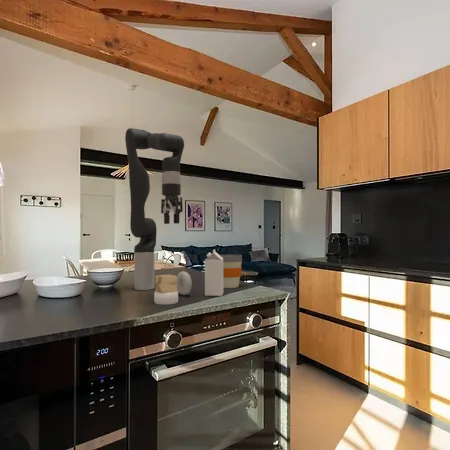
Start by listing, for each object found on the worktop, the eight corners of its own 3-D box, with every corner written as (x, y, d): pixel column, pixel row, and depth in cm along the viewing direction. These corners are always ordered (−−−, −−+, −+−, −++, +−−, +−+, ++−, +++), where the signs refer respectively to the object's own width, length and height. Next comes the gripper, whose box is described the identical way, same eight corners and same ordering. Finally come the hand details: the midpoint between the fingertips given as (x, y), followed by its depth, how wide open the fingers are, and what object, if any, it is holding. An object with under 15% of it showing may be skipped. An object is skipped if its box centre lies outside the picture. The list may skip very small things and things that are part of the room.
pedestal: (150, 301, 131) (150, 291, 131) (171, 298, 136) (171, 288, 136) (160, 305, 124) (160, 294, 124) (182, 302, 129) (182, 291, 129)
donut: (193, 296, 141) (193, 272, 141) (186, 297, 139) (186, 272, 139) (181, 292, 149) (180, 269, 149) (174, 293, 147) (173, 270, 147)
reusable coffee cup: (214, 288, 159) (214, 256, 159) (219, 284, 171) (218, 254, 172) (240, 289, 157) (240, 256, 157) (243, 284, 169) (243, 254, 170)
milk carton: (223, 292, 148) (223, 249, 148) (221, 296, 141) (221, 250, 141) (207, 292, 148) (207, 249, 149) (204, 296, 141) (204, 250, 142)
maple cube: (155, 291, 131) (155, 275, 131) (169, 289, 134) (169, 274, 134) (162, 293, 126) (162, 277, 126) (176, 291, 130) (176, 276, 130)
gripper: (188, 182, 134) (188, 223, 134) (171, 186, 146) (171, 224, 145) (171, 180, 130) (171, 223, 129) (155, 184, 141) (155, 224, 141)
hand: (171, 223), depth 137 cm, fingers open, 8 cm apart
